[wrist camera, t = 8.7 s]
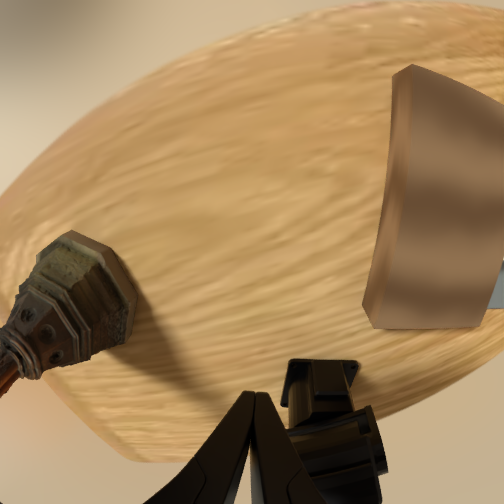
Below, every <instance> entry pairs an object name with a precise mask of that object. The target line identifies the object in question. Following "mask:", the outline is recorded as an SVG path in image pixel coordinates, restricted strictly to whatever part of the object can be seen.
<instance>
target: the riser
mask: <svg viewBox="0 0 504 504" xmlns="http://www.w3.org/2000/svg"><path fill="white" fill-rule="evenodd" d="M503 259H504V105H503V104H501V103H499V102H497V101H496V100H494V99H492V98H490V97H488V96H486V95H485V94H483V93H481V92H479V91H477V90H475V89H473V88H471V87H468V86H466V85H464V84H462V83H460V82H458V81H455V80H453V79H451V78H448V77H446V76H443V75H441V74H439V73H436V72H433V71H431V70H428V69H425V68H423V67H420V66H417V65H414V64H411V65H410V66H408V67H406V68H404V69H403V70H401V71H399V72H398V73H396V74H394V75H393V76H392V112H391V131H390V145H389V156H388V166H387V175H386V183H385V191H384V198H383V205H382V212H381V218H380V224H379V229H378V235H377V240H376V245H375V250H374V255H373V260H372V265H371V269H370V274H369V278H368V282H367V287H366V291H365V295H364V299H363V302H362V306H363V308H364V310H365V312H366V314H367V316H368V318H369V320H370V322H371V324H372V326H373V328H374V329H436V328H462V327H479V326H480V324H481V322H482V319H483V317H484V314H485V312H486V309H487V307H488V304H489V302H490V299H491V296H492V293H493V291H494V288H495V285H496V282H497V279H498V275H499V272H500V269H501V266H502V262H503Z"/></svg>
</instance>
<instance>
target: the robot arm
mask: <svg viewBox="0 0 504 504" xmlns="http://www.w3.org/2000/svg"><path fill="white" fill-rule="evenodd" d="M292 364H295V365H292ZM353 365H354V366H353ZM357 369H358V363H357V361H354V360H313V359H291V360H289V362H288V367H287V372H286V377H285V382H284V387H283V391H282V396H281V401H280V405H281V406H282V407H287V408H289V429H285V427H284V425H283V423H282V421H281V419H280V417H279V414H278V412H277V410H276V408H275V406H274V404H273V402H272V400H271V397H270V395H269V394H268V393H267V392H256V393H255V392H254V391H246V390H245V391H243V392H242V393H241V395H240V396H239V397H238V399H237V400H236V402H235V403H234V404H233V406H232V407H231V408H230V410H229V411H228V412H227V414H226V415H225V416H224V418H223V419H222V420H221V422H220V423H219V424H218V426H217V427H216V428H215V430H214V431H213V432H212V434H211V435H210V436H209V437H208V439H207V440H206V441H205V443H204V444H203V445H202V446H201V448H200V449H199V450H198V451H197V453H196V454H195V455H194V457H192V459H191V460H190V461H189V462H188V463H187V465H186V466H185V467H184V468H183V469H182V470H181V471H180V472H179V474H177V475H176V477H174V478H173V479H172V480H171V481H170V482H169V483H168V484H167V485H165V486H164V487H163V488H162V489H161V490H159V491H158V492H157V493H156V494H154V495H153V496H152V497H151V498H149V499H148V500H147V501H146V502H144V503H143V504H234V500H235V497H236V494H237V491H238V487H239V484H240V480H241V476H242V473H243V470H244V466H245V462H246V459H247V455H248V451H249V446H250V470H251V498H252V504H381V503H382V494H381V489H380V484H379V479H378V476H379V475H383V474H385V473H388V466H387V461H386V456H385V451H384V447H383V443H382V439H381V436H380V433H379V429H378V426H377V423H376V420H375V416H374V413H373V410H372V407H371V405H368V406H366V407H364V408H363V409H360V410H357V411H355V409H354V405H353V400H352V396H351V392H350V387H351V385H352V382H353V380H354V377H355V375H356V372H357ZM255 395H256V396H255ZM250 439H251V440H250ZM0 504H2V503H1V502H0Z"/></svg>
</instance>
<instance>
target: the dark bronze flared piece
mask: <svg viewBox="0 0 504 504" xmlns="http://www.w3.org/2000/svg"><path fill="white" fill-rule="evenodd" d="M137 297H138V294H137V293H136V291H135V290H134V288H133V286H132V285H131V283H130V281H129V280H128V278H127V276H126V274H125V273H124V271H123V269H122V268H121V266H120V264H119V262H118V261H117V259H116V257H115V255H114V253H113V251H112V250H111V248H110V247H108V246H106V245H104V244H101V243H99V242H97V241H95V240H92V239H90V238H88V237H86V236H84V235H81V234H79V233H77V232H75V231H73V230H71V231H69V232H67V233H65V234H62V235H61V236H60V237H58V238H57V239H56V240H54V241H53V242H52V243H51V244H49V245H48V246H47V247H46V248H44V249H43V250H42V251H41V252H40V253H38V254H37V255H36V265H35V267H34V268H33V271H32V272H31V273H30V275H29V278H27V279H26V281H25V282H24V283H23V284H22V285H19V294H17V295H16V296H15V300H16V301H15V304H14V307H13V309H12V311H11V314H10V316H9V318H8V321H7V323H6V324H5V325H4V326H3V327H2V328H0V398H1V397H2V395H3V394H5V393H7V391H8V390H9V388H10V387H11V386H12V384H13V383H14V382H15V381H16V380H17V379H18V378H22V379H23V378H24V377H26V378H28V379H30V380H34V379H36V380H38V379H40V378H41V375H42V373H43V372H44V371H46V370H48V369H52V368H55V367H58V366H59V367H65V366H68V365H73V364H77V363H79V362H81V363H82V362H83V361H88V360H90V358H91V356H92V355H94V354H97V353H99V352H100V351H103V350H105V349H107V348H111V347H114V346H117V345H121V344H124V343H125V342H126V341H127V339H128V338H129V336H130V335H131V333H132V326H133V320H134V314H135V308H136V303H137Z"/></svg>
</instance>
